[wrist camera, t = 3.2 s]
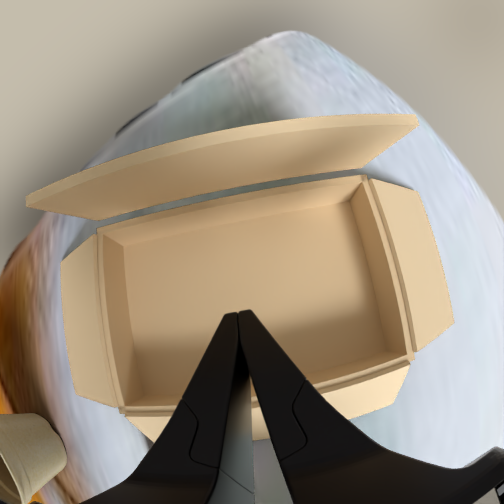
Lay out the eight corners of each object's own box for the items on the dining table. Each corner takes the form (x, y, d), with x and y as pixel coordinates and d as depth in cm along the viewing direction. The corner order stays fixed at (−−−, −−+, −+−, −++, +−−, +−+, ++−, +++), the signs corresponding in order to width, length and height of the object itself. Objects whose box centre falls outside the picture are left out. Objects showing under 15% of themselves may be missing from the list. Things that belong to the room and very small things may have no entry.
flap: (360, 168, 16) (419, 125, 9) (98, 221, 16) (25, 206, 9) (358, 160, 16) (415, 114, 9) (97, 213, 16) (25, 196, 9)
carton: (457, 371, 16) (486, 375, 12) (91, 439, 16) (65, 453, 12) (414, 188, 20) (435, 165, 16) (62, 257, 20) (34, 245, 16)
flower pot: (5, 403, 16) (-52, 411, 8) (49, 387, 17) (-23, 399, 8) (45, 481, 14) (-4, 505, 5) (98, 479, 15) (44, 520, 6)
